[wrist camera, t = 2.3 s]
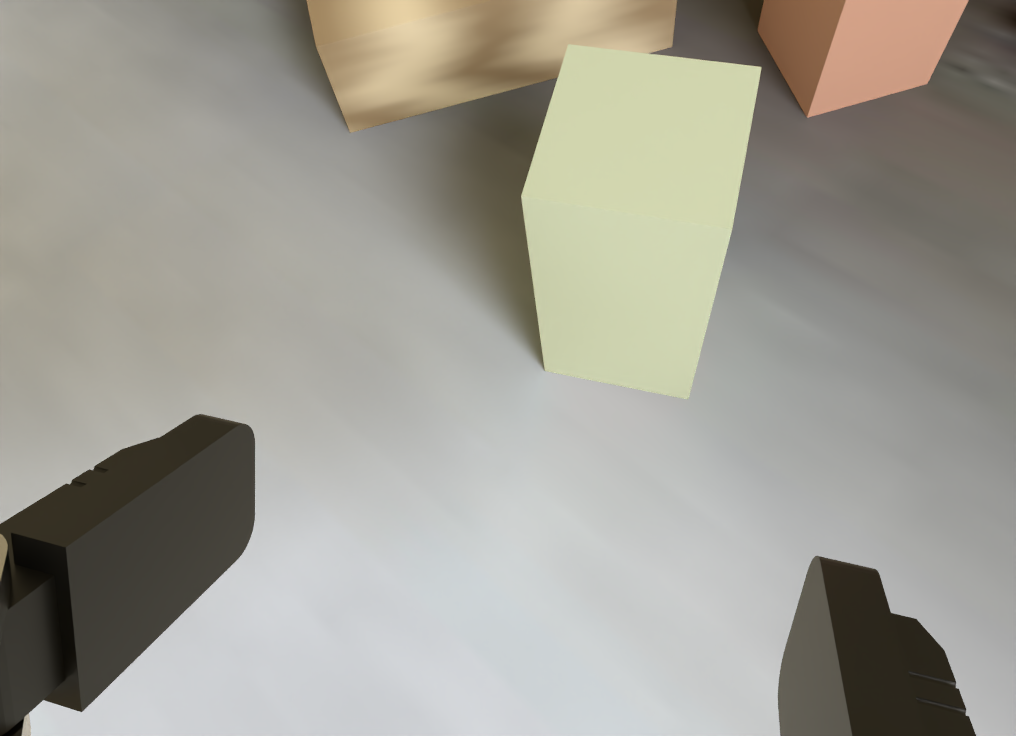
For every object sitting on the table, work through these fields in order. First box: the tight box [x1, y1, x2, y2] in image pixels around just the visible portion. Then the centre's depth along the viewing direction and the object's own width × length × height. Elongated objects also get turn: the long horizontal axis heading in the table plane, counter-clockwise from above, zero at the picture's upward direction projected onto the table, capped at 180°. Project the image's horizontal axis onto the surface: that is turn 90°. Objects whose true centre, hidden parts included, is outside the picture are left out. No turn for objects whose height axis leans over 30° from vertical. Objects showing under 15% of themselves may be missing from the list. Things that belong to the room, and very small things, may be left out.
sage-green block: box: [521, 44, 762, 399], centre depth 25 cm, size 5×5×10 cm
